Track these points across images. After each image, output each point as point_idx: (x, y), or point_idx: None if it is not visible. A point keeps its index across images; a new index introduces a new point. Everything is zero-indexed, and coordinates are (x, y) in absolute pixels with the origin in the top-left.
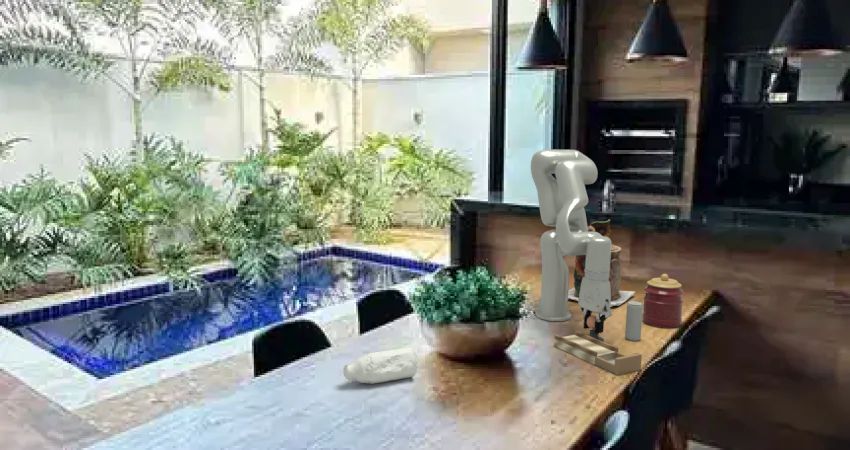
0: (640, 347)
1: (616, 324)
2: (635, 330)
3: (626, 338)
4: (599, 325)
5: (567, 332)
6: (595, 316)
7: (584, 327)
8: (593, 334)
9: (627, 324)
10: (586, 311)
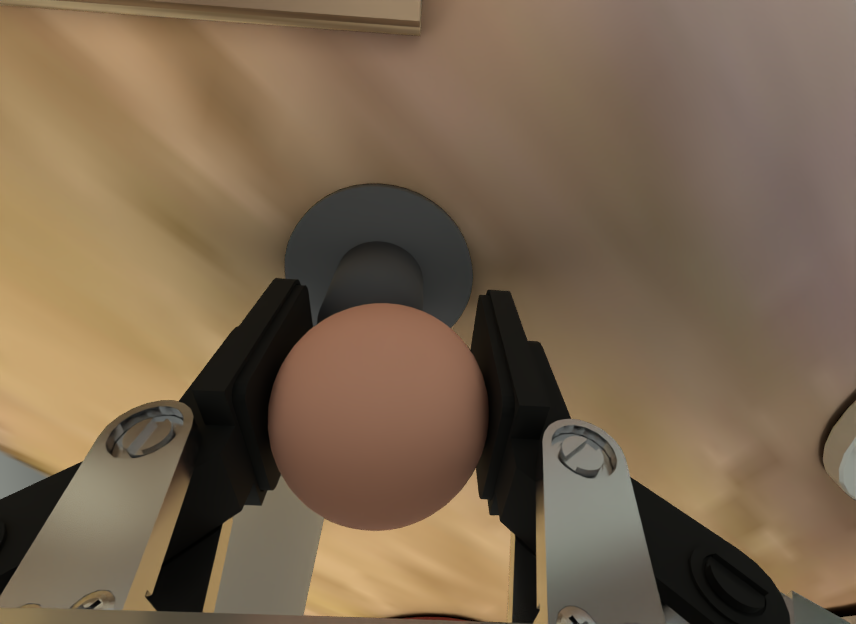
0: (106, 426)
1: None
2: None
3: None
4: (200, 374)
5: (697, 216)
6: (329, 506)
7: (492, 295)
8: (339, 276)
9: (239, 578)
10: (542, 540)
